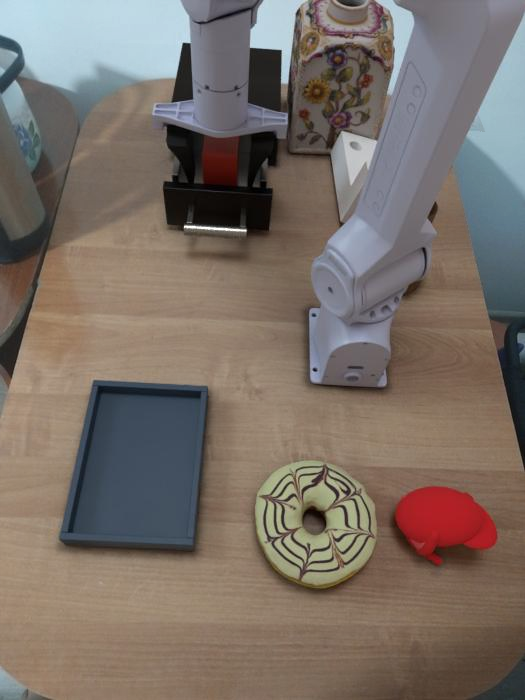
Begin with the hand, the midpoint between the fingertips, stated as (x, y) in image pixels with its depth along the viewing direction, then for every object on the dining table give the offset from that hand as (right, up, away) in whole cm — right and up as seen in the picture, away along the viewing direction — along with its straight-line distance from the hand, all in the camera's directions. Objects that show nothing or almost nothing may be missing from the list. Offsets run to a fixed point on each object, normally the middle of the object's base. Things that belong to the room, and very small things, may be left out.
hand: (220, 180), depth 68 cm
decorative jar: (+14, +11, +12) cm, 22 cm away
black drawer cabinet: (0, +11, +11) cm, 15 cm away
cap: (+20, -37, -17) cm, 46 cm away
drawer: (0, -2, +2) cm, 3 cm away
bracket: (+19, 0, +6) cm, 20 cm away
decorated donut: (+9, -37, -17) cm, 42 cm away
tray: (-6, -31, -15) cm, 36 cm away
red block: (0, -1, +2) cm, 2 cm away
